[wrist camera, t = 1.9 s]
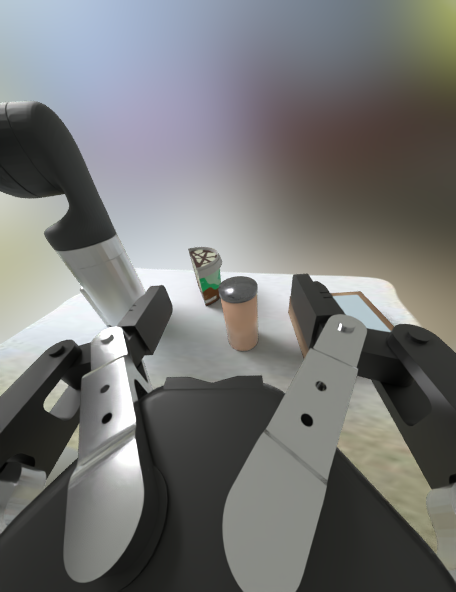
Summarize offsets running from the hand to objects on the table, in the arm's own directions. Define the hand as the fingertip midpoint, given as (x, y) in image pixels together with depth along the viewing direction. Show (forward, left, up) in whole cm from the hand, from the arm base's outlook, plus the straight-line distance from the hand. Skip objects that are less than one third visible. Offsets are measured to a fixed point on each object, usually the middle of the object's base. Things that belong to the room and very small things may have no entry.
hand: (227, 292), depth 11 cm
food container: (-7, +26, -18) cm, 33 cm away
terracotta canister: (0, +11, -18) cm, 21 cm away
